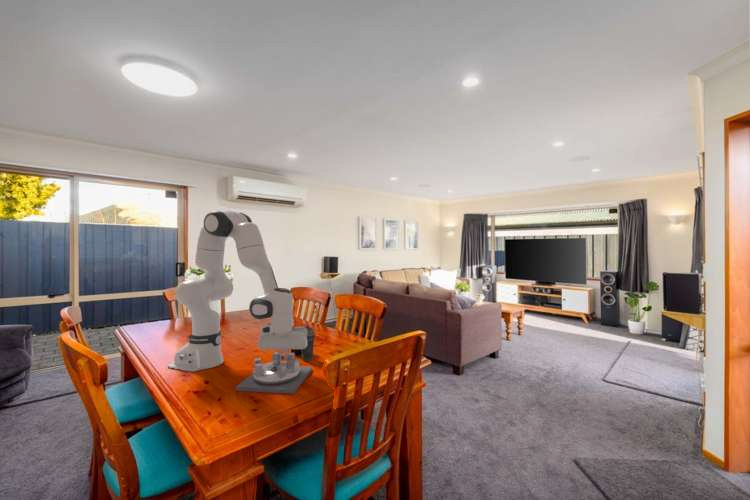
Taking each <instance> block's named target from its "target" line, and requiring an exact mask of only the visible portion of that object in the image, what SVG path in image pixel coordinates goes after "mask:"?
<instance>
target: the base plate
mask: <svg viewBox="0 0 750 500" xmlns="http://www.w3.org/2000/svg"><path fill="white" fill-rule="evenodd" d="M299 366H300V375H299V377H298V378H296V379H295V380H293V381H291V382H288V383H284V384H280V385H261V384H258V383H255V382H254V381H253V372H252V373H251V374H250V375H248V376H247V377H246V378H244V380H242V381H241V382H240V383H239V384H238V385H236V387H235V391H237V392H238V391H239V392H251V393H253V392H254V393H271V394H274V393H275V394H287V395H288V394H290V395H291V394H293V395H294V394H295V392H297V391H298V389H299V388H300V386H301V385H302V384H303V383H304V381H306V379H307V377H308V376H309V375H310V374H311V372H312V370H313V367H312V366H304V365H303V366H301V365H299Z"/></svg>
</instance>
